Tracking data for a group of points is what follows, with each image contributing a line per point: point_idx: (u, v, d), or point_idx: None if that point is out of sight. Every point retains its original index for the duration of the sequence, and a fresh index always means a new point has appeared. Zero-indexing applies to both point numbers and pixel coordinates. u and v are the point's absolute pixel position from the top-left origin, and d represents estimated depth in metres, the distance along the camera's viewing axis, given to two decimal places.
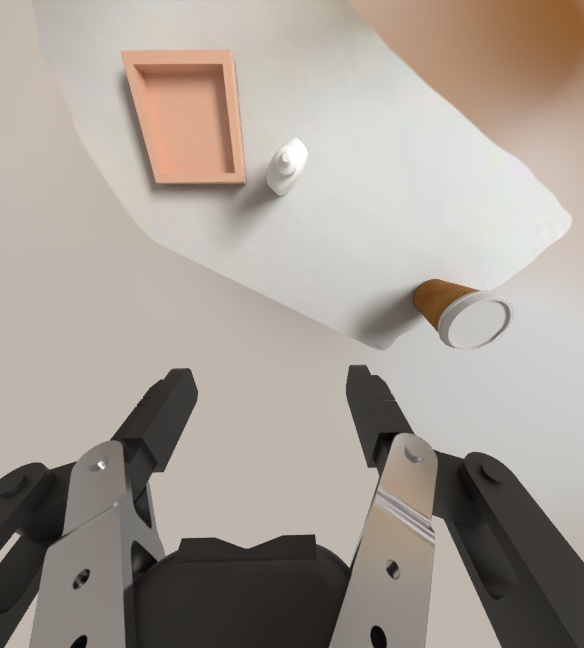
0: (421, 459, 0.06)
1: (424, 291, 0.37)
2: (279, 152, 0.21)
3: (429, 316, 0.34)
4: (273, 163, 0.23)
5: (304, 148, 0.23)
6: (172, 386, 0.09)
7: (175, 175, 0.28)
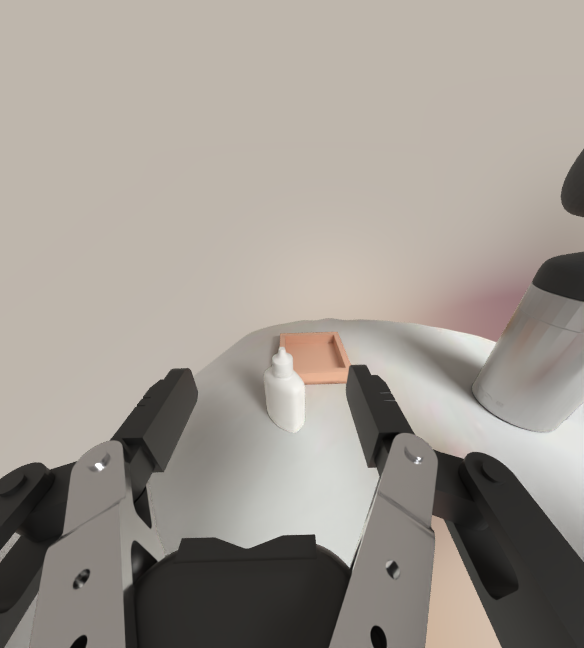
0: (421, 459, 0.06)
1: None
2: (287, 353, 0.24)
3: None
4: None
5: (296, 389, 0.24)
6: (172, 386, 0.09)
7: (284, 341, 0.41)
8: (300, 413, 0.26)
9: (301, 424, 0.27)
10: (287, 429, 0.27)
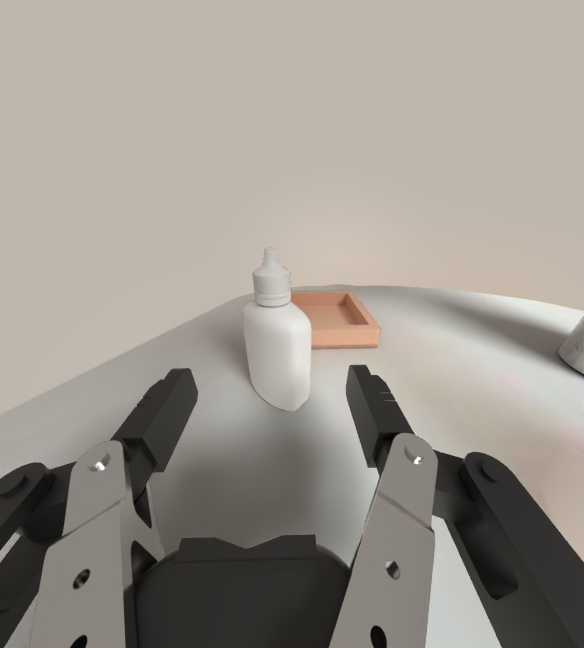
0: (421, 459, 0.06)
1: None
2: (281, 266, 0.14)
3: None
4: None
5: (296, 326, 0.13)
6: (172, 386, 0.09)
7: None
8: (301, 376, 0.15)
9: (304, 397, 0.16)
10: (280, 405, 0.16)
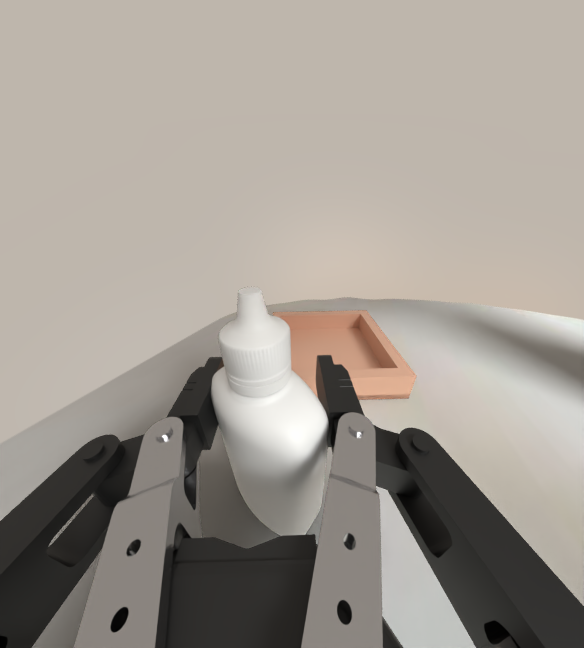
0: (360, 433, 0.07)
1: None
2: (273, 316, 0.08)
3: None
4: None
5: (303, 439, 0.07)
6: (214, 372, 0.10)
7: None
8: (311, 499, 0.09)
9: (314, 516, 0.10)
10: (276, 531, 0.10)
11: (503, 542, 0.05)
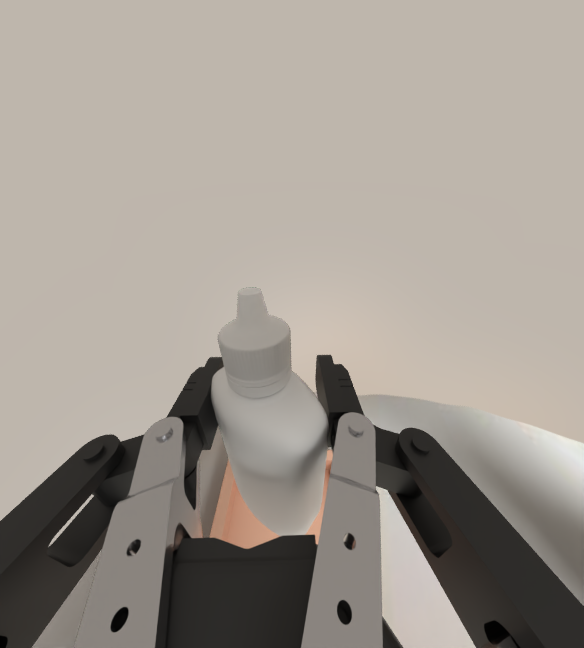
0: (360, 433, 0.07)
1: None
2: (273, 317, 0.08)
3: None
4: None
5: (303, 439, 0.07)
6: (214, 372, 0.10)
7: (230, 483, 0.20)
8: (311, 499, 0.09)
9: (314, 517, 0.10)
10: (276, 532, 0.10)
11: (503, 542, 0.05)
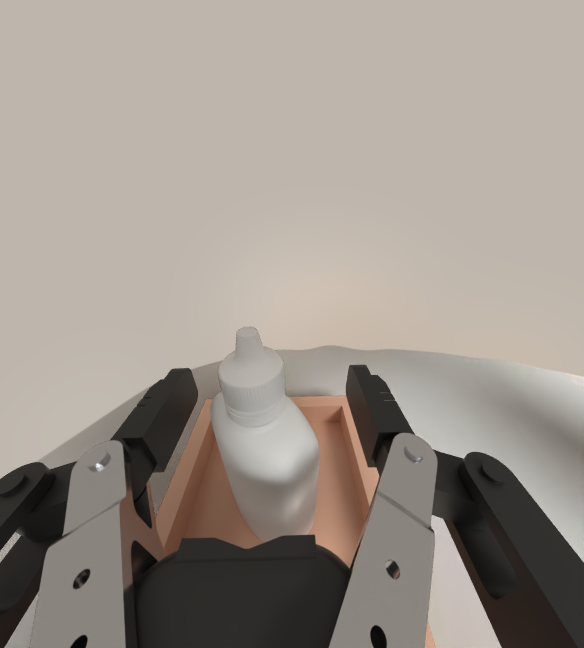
0: (421, 459, 0.06)
1: None
2: (269, 350, 0.08)
3: None
4: None
5: (294, 467, 0.07)
6: (172, 386, 0.09)
7: (203, 431, 0.15)
8: (303, 518, 0.09)
9: (306, 532, 0.11)
10: None
11: None
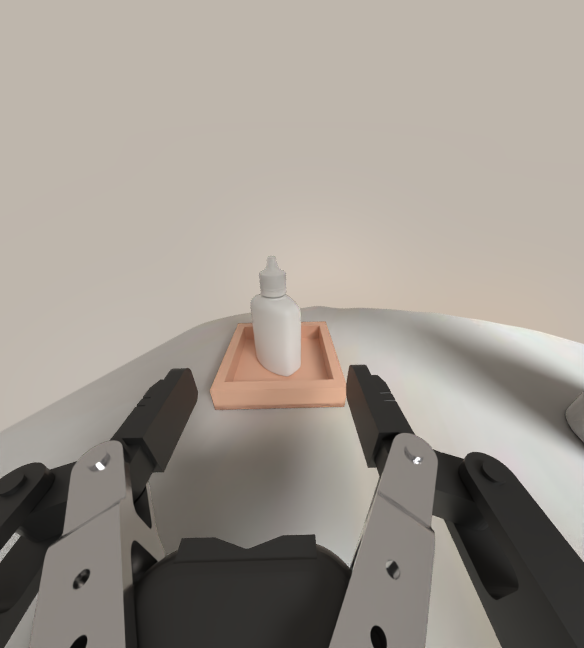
0: (421, 459, 0.06)
1: None
2: (279, 269, 0.20)
3: None
4: None
5: (289, 311, 0.19)
6: (172, 386, 0.09)
7: (239, 334, 0.26)
8: (294, 349, 0.21)
9: (296, 366, 0.22)
10: (279, 371, 0.22)
11: None
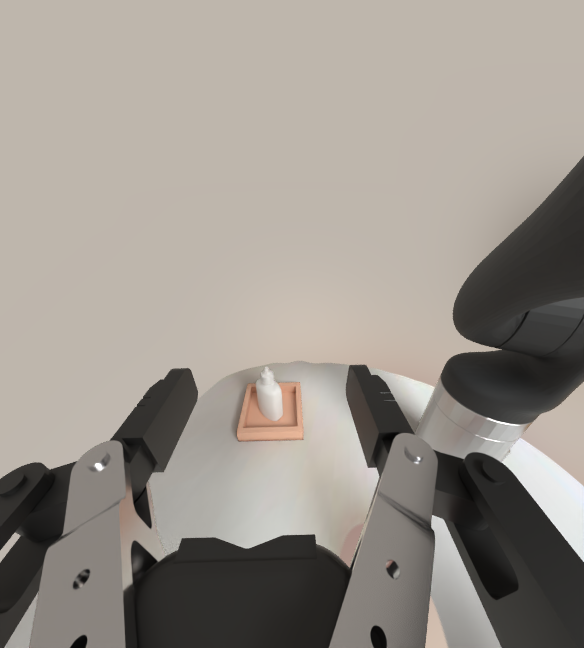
0: (421, 459, 0.06)
1: None
2: (270, 370, 0.39)
3: None
4: None
5: (275, 393, 0.38)
6: (172, 386, 0.09)
7: (249, 393, 0.45)
8: (278, 408, 0.40)
9: (280, 416, 0.41)
10: (270, 419, 0.41)
11: None
